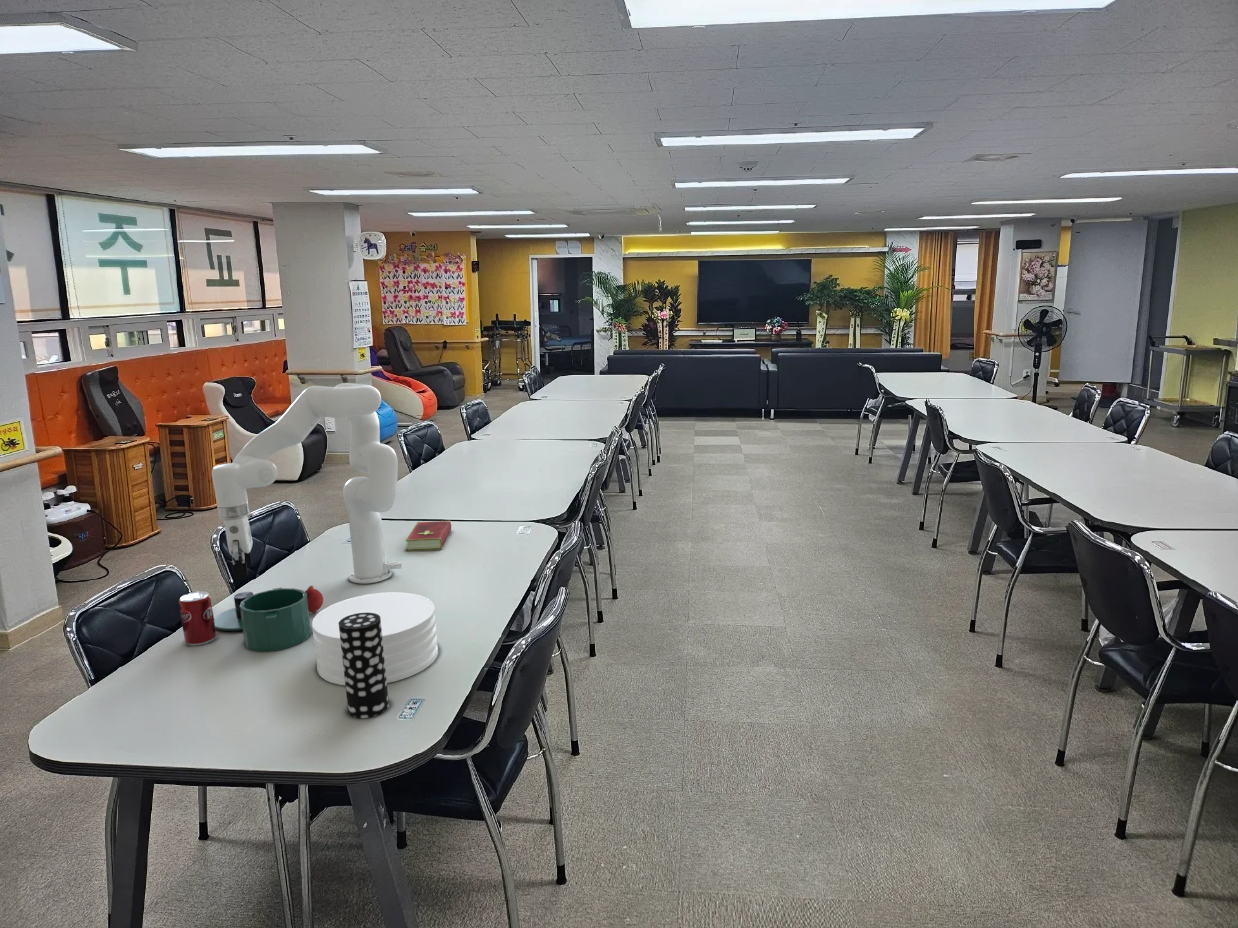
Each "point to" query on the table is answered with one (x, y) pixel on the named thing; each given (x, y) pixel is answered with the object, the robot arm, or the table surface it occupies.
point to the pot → (275, 619)
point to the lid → (232, 615)
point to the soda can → (197, 618)
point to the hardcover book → (428, 535)
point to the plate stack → (402, 634)
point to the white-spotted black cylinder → (364, 664)
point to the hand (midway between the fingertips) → (243, 571)
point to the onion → (314, 599)
